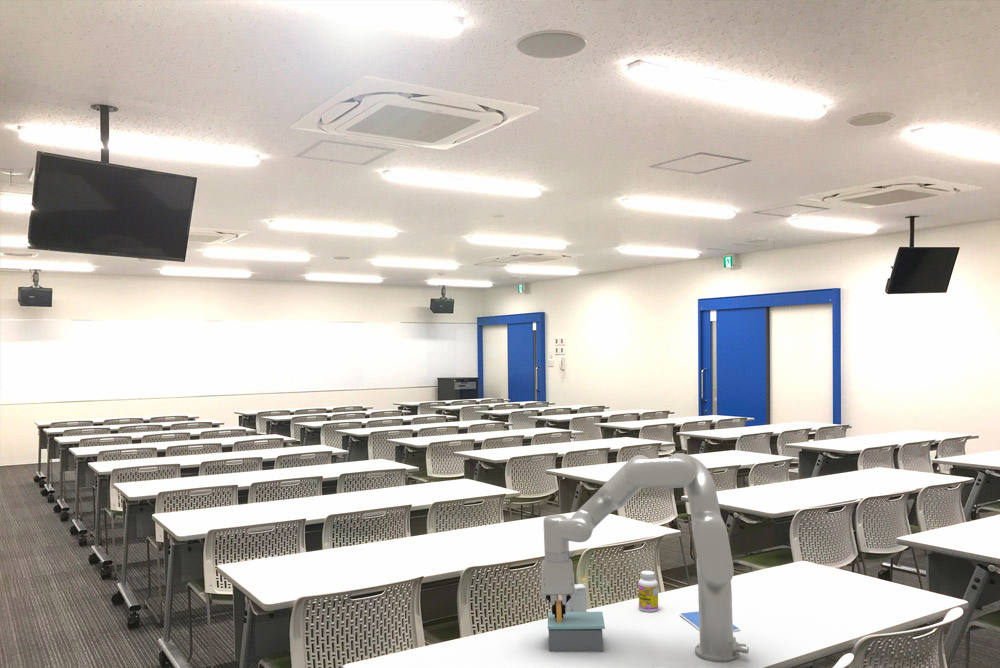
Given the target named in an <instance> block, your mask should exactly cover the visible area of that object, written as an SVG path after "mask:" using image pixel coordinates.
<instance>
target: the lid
mask: <svg viewBox="0 0 1000 668" xmlns="http://www.w3.org/2000/svg"><path fill="white" fill-rule="evenodd" d="M555 601H556V613H557V618H555V615H552V611H549V612H547V630H549V629H602V630H605V629H606V624H605V619H604V614H603V611H586V612H566V614H563V618H562V613H561V601H562V599H555Z"/></svg>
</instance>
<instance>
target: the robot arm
mask: <svg viewBox="0 0 1000 668" xmlns="http://www.w3.org/2000/svg"><path fill="white" fill-rule="evenodd" d="M667 488H668V489H676V488H677V489H678V488H679V489H680V488H685V491H686V496H687V501H688V504H689V511H690V516H691V531H692V536H693V540H694V547H695V552H696V571H697V572H696V573H697V575H696V576H697V591H698V593H697V595H698V596H697V597H698V611H699V629H700V631H699V643H698V644H696V646H695V647H694V653H695V655H697V657H699V658H701V659H704V660H707V661H713V662H731V661H734V660H736V659H738V658H739V656H740V653H742V654H747V655H749V651H750V650H749V649H750V648H749V646H747V644H746V643H739V642H737V638H736V637H734V632H733V625H734V623H733V596H732V595H733V594H732V593H733V592H732V579H733V577H734V572H735V570H734V569H735V568H734V563H733V557H732V550H731V545H730V544H731V543H730V539H729V535H728V534H729V533H728V530H727V526H726V524H725V522H724V519H723V517H722V514H721V509H720V504H719V503H720V502H719V499H718V495H717V490H716V485H715V482H714V480H713V477H712V475H711V473H710V470H708V468H707V467H706V466H705V465H704V463H702V462H701V461H700V460H699V459H698V458H696V457H693V456H692V455H689V454H687V453H680V452H676V453H673V454H671V455H670V456H669V457H668V458H650V457H648V456H646V455H644V454H637V455H634V456H633V457H631V458H629V460H628V461H627V462H626V463H624V465H623V466H622V467H620V468H619V470H617V472H616V473H614V474H613V475H612V476H611V477H610V478H609V480H607V481H606V482H605V483H604V484H603V485H602V486H601V487H600V488H599V489H598V490H597V491H596V492H595V493H594V494H593V495H592V496H591V497H590V498H588V500H587V501H586V502H584V504H583V505H582V506H580V508H579V509H577V511H576V512H575V513H574V514H573V515H572V516H571V517H570V518H567V516H565V515H563V514H550V515H546V516H545V517H544V518H543V543H544V548H543V549H544V559H542V561H541V575H540V576H541V577H540V578H541V580H540V582H541V584H540V585H541V587H540V591H539V592H538V593H539V594H538V595H539V597H540V598H543V599H546V600H547V602H548V603H550V605H551V610H552V611H551V612H552V615H555V618H557V613H556V598H555V596H557V595H560V596H562V597H561V613H562V618H563V614H566V603H567V602H568V601H569V600H570V599H571V598H574V597H576V596H577V591H576V589H575V584H576V583H575V575H574V573H575V572H574V566H573V560H572V558H574V556H575V555H574V554H575V553H574V551H570V546H569V545H570V543H569V542H573V543H574V542H575V543H585V542H587V541H588V540H589V539H590V538H591V537H592V535H593V531H594V529H595V528H596V527H597V526H598V525H599V524H600V523H601V522H602V521H603V520H604V519H606V518H607V516H609V515H610V514H611V513H612V512H614V511H616V510H619V509H621V508H623V507H624V506H625V505H626V504H627V503H628V502H629V501H630V500H631V499H632V498H634V496H635V495H637V493H638V492H639V491H640V490H642V489H667Z"/></svg>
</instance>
